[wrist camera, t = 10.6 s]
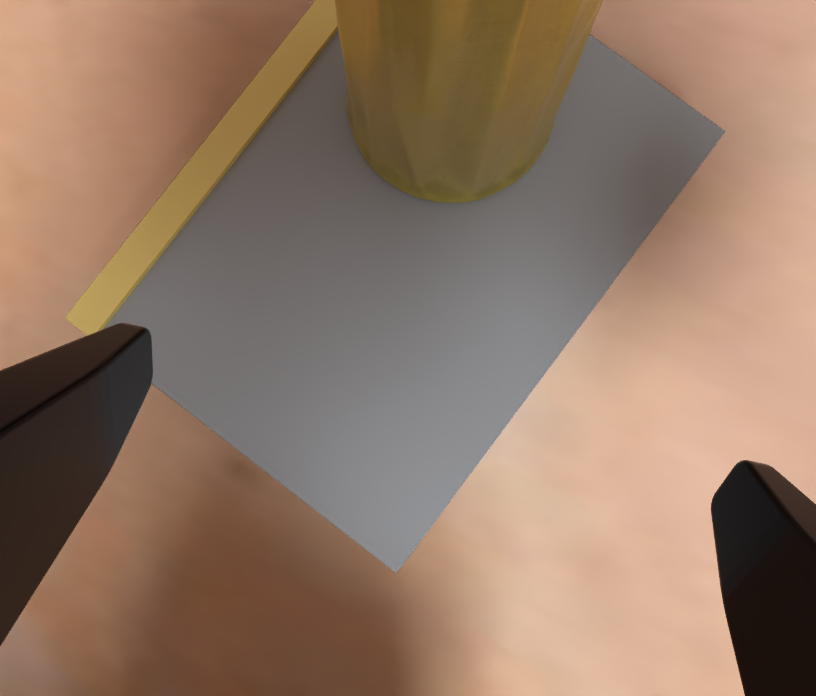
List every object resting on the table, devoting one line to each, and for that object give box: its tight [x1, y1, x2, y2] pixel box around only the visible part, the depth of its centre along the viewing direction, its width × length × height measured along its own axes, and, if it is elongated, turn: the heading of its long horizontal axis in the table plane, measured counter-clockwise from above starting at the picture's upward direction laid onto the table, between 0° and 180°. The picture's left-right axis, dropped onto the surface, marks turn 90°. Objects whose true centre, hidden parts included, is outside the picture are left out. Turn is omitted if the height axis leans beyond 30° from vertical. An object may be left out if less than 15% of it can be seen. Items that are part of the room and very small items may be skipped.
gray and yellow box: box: [65, 0, 725, 573], centre depth 20 cm, size 16×12×3 cm
